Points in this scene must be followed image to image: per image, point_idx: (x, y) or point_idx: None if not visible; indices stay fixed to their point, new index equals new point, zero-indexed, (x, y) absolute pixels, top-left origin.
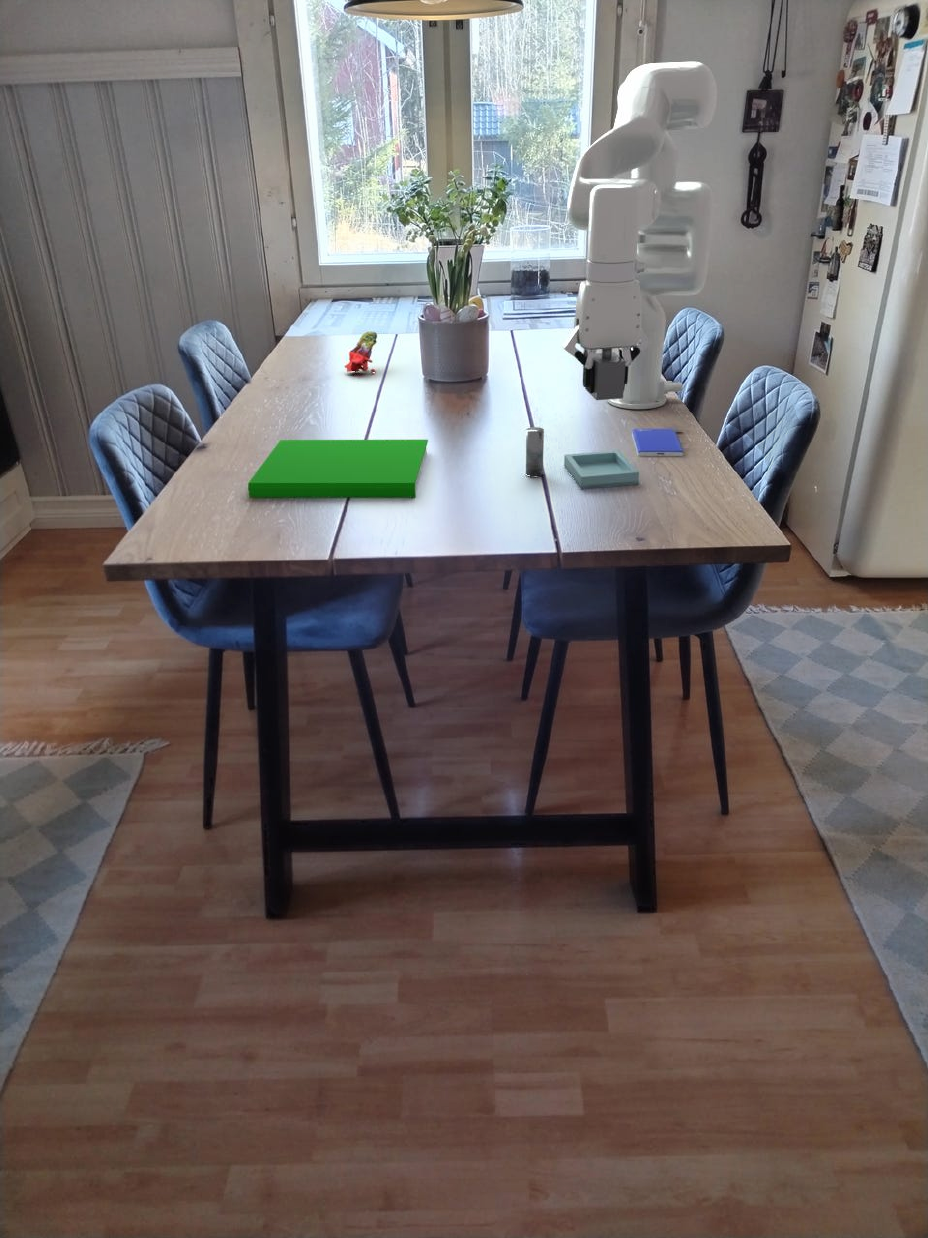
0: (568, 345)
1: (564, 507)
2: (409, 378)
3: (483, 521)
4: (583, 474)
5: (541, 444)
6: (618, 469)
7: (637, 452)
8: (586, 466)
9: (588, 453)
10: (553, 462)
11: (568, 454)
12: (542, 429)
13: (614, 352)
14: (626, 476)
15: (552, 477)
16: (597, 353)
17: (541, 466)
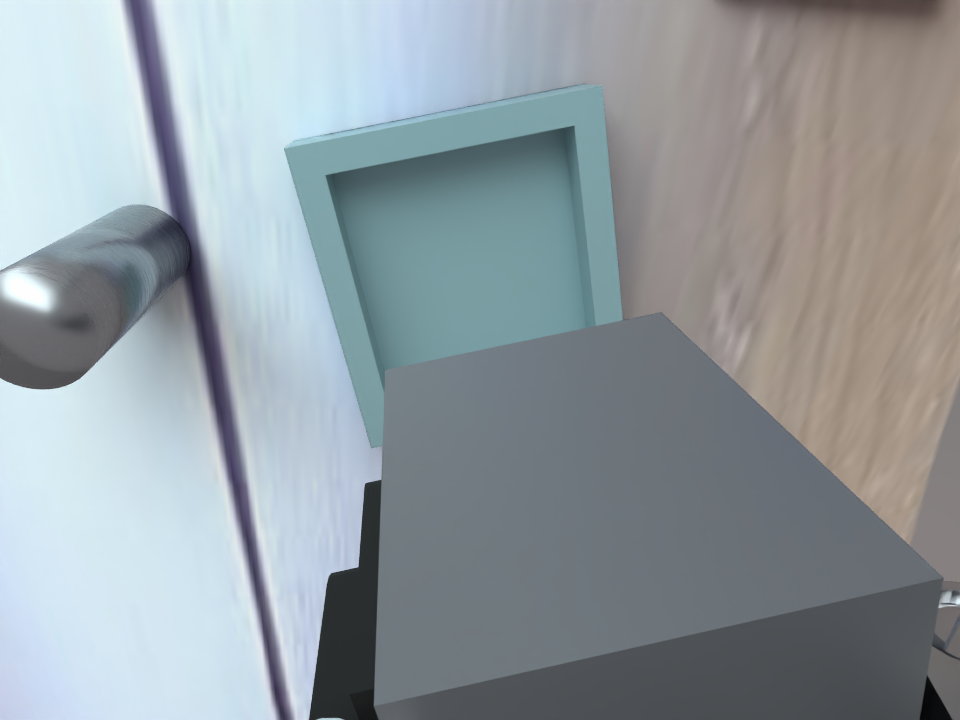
0: None
1: (310, 568)
2: None
3: (32, 675)
4: (382, 422)
5: (122, 335)
6: (560, 242)
7: None
8: (409, 196)
9: (424, 132)
10: (230, 68)
11: (307, 146)
12: (85, 323)
13: (937, 590)
14: None
15: (242, 289)
16: (581, 666)
17: (169, 288)
